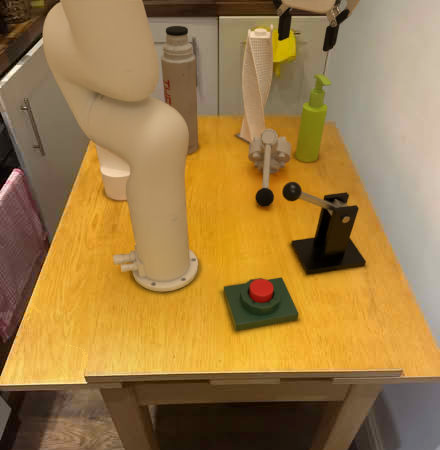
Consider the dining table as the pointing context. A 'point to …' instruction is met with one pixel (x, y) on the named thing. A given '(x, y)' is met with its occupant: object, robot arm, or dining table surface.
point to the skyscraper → (256, 81)
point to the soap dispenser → (312, 122)
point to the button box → (259, 306)
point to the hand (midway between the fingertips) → (305, 44)
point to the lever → (308, 197)
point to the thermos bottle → (181, 79)
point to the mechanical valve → (268, 160)
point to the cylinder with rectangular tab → (113, 173)
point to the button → (261, 290)
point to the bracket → (330, 240)
